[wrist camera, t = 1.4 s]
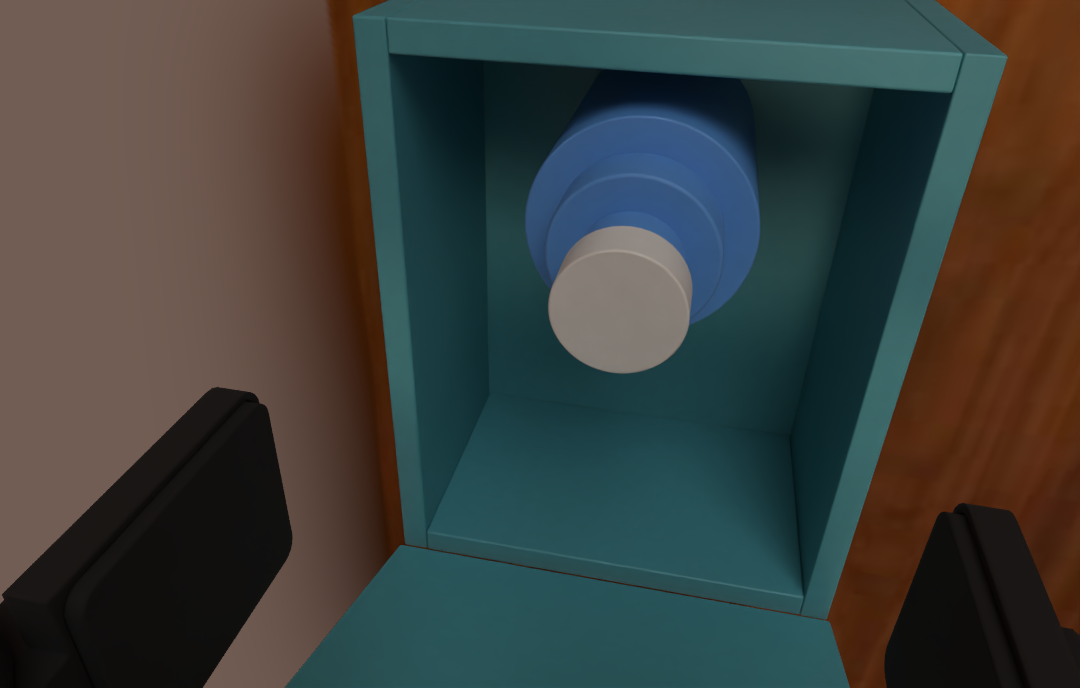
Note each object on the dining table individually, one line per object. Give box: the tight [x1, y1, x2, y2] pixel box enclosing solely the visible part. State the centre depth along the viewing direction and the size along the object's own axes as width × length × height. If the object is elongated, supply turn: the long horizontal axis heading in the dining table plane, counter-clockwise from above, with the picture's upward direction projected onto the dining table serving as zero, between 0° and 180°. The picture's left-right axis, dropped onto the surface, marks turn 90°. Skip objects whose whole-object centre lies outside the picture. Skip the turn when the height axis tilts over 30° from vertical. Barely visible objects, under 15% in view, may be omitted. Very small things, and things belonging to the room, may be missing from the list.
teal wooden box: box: [353, 0, 1007, 619], centre depth 25 cm, size 17×14×9 cm
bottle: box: [525, 69, 760, 373], centre depth 21 cm, size 6×6×12 cm
